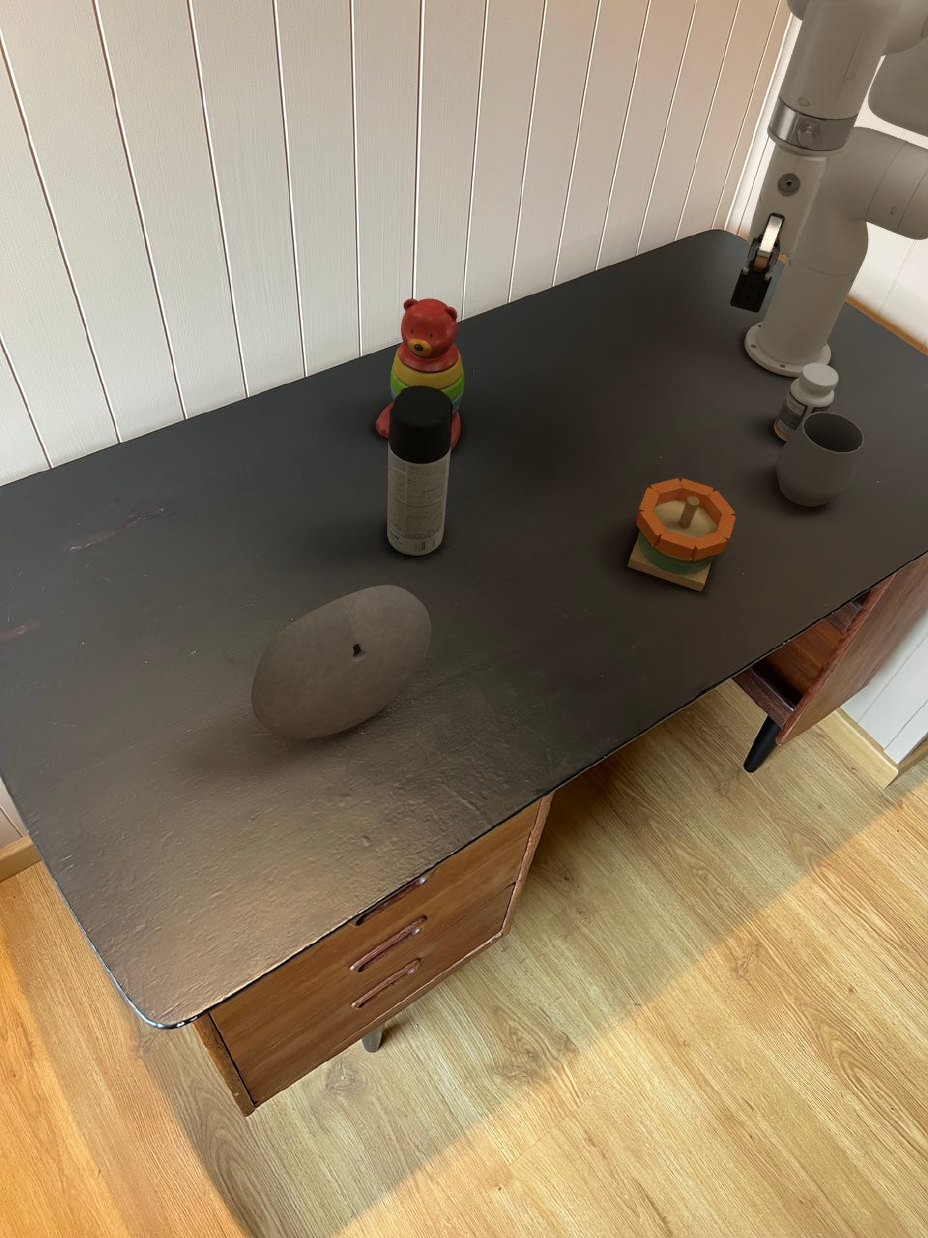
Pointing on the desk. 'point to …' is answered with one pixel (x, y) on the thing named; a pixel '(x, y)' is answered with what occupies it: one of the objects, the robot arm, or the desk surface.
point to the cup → (819, 459)
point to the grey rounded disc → (341, 663)
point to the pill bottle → (806, 397)
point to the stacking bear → (427, 357)
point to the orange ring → (677, 542)
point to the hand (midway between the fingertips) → (752, 284)
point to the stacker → (651, 561)
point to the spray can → (418, 468)
